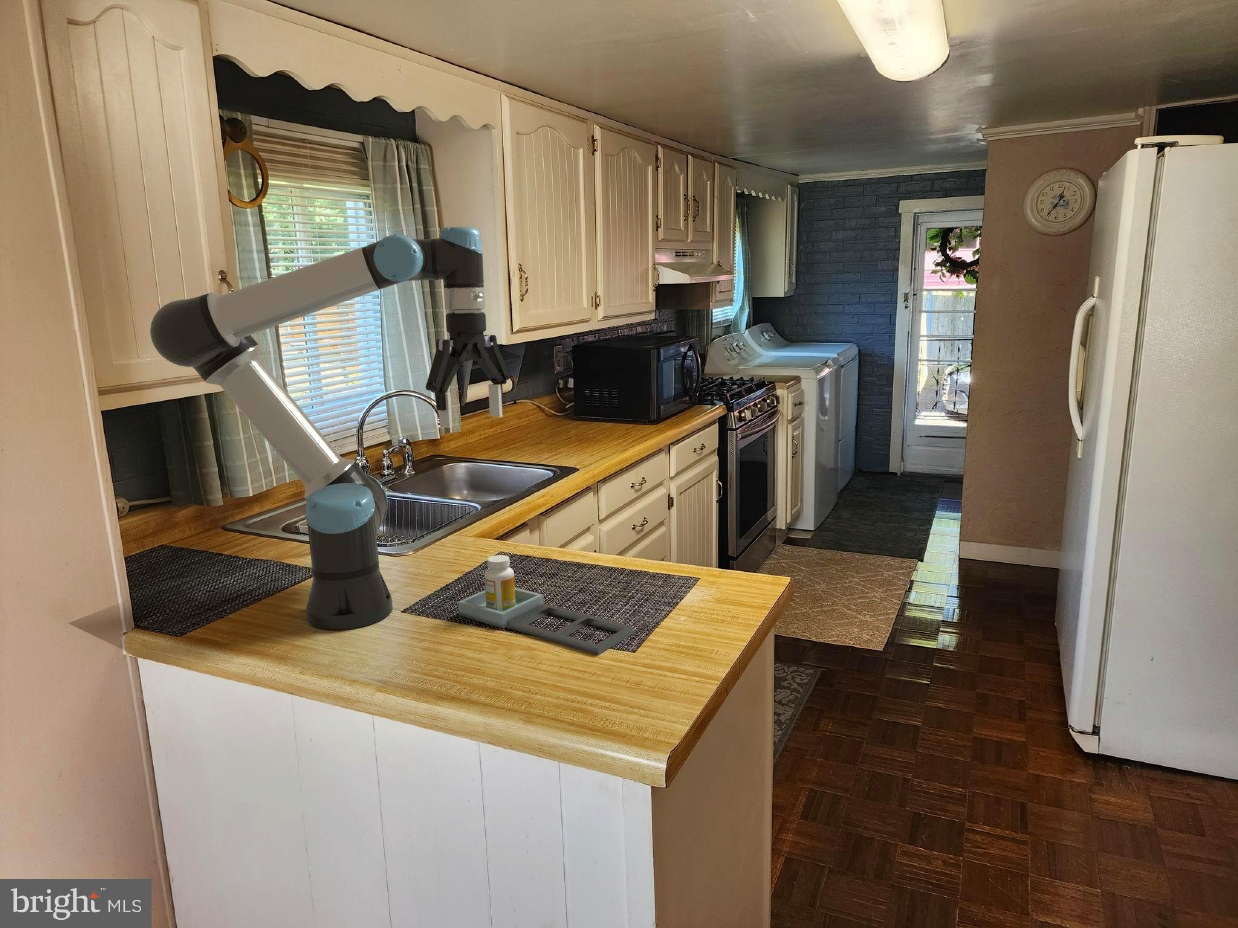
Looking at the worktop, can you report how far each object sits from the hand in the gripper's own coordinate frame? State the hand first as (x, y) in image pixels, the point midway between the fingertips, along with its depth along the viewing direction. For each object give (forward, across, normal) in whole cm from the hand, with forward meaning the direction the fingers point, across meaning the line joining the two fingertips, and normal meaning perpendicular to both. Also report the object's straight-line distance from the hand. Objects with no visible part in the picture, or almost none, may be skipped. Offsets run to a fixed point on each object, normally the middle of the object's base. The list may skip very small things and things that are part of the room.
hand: (472, 422), depth 165 cm
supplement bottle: (+32, -10, -15) cm, 37 cm away
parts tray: (+33, -10, -15) cm, 37 cm away
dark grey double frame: (+33, -10, -31) cm, 46 cm away
